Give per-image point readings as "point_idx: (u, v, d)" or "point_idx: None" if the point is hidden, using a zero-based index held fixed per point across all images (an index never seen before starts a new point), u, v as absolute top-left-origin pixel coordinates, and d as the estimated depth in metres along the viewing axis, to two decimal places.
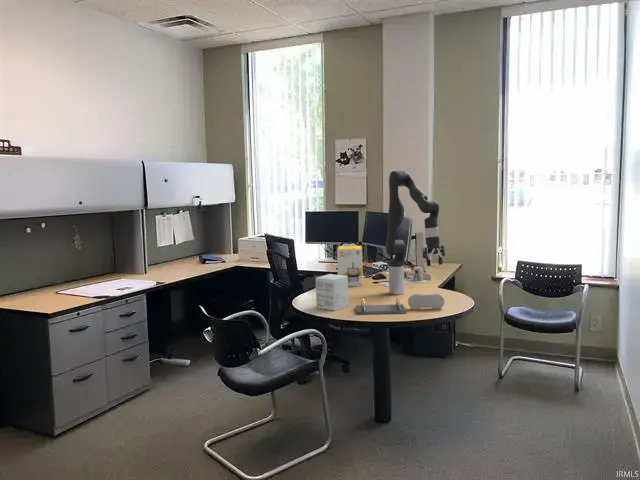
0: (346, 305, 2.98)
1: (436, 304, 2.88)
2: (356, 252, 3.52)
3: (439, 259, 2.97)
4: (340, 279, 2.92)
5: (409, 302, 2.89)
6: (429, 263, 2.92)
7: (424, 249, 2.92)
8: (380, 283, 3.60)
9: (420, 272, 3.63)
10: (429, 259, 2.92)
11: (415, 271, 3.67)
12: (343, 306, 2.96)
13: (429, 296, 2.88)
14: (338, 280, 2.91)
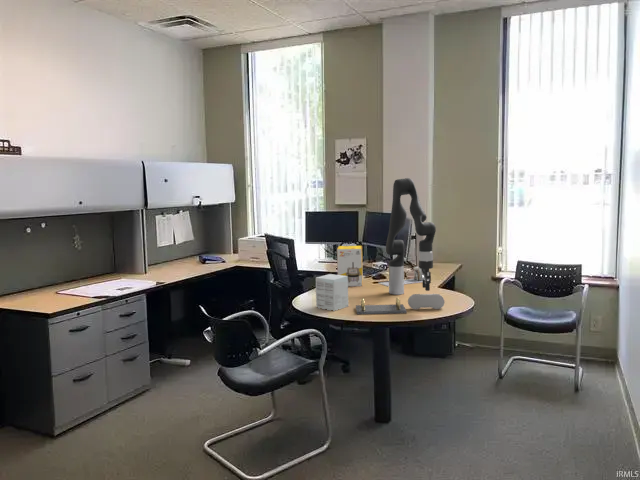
0: (346, 305, 2.98)
1: (436, 304, 2.88)
2: (356, 252, 3.52)
3: (424, 282, 2.92)
4: (340, 279, 2.92)
5: (409, 302, 2.89)
6: (429, 288, 2.84)
7: (429, 274, 2.81)
8: (380, 283, 3.60)
9: (420, 272, 3.64)
10: (429, 283, 2.84)
11: (415, 271, 3.67)
12: (343, 306, 2.96)
13: (429, 296, 2.88)
14: (338, 280, 2.91)
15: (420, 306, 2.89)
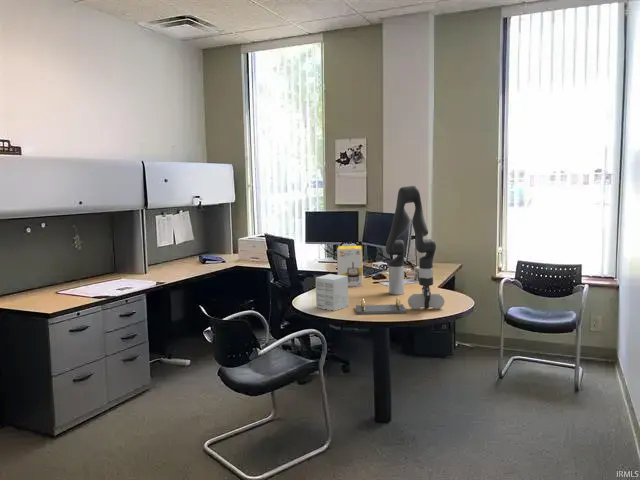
0: (346, 305, 2.98)
1: (436, 304, 2.88)
2: (356, 252, 3.52)
3: None
4: (340, 279, 2.92)
5: (409, 302, 2.89)
6: (428, 305, 2.88)
7: (429, 294, 2.83)
8: (381, 283, 3.60)
9: None
10: (428, 301, 2.88)
11: (416, 271, 3.67)
12: (343, 306, 2.96)
13: None
14: (338, 280, 2.91)
15: (420, 306, 2.89)
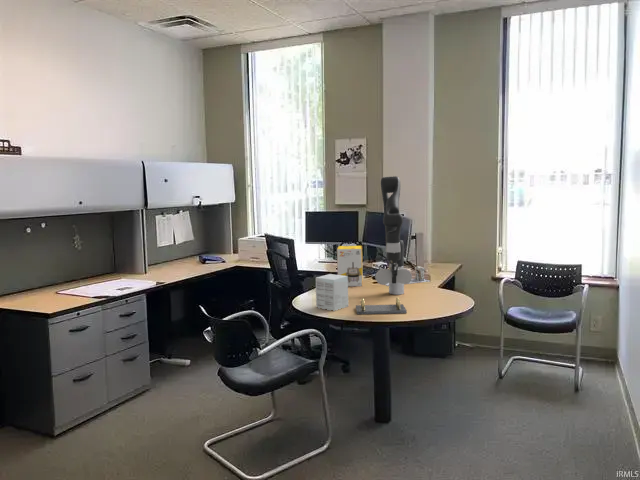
0: (346, 305, 2.98)
1: (403, 279, 2.86)
2: (356, 252, 3.52)
3: None
4: (340, 279, 2.92)
5: (376, 277, 2.85)
6: (395, 280, 2.85)
7: (396, 269, 2.80)
8: None
9: (422, 272, 3.64)
10: None
11: (417, 271, 3.67)
12: (343, 306, 2.96)
13: None
14: (338, 280, 2.91)
15: (388, 281, 2.86)
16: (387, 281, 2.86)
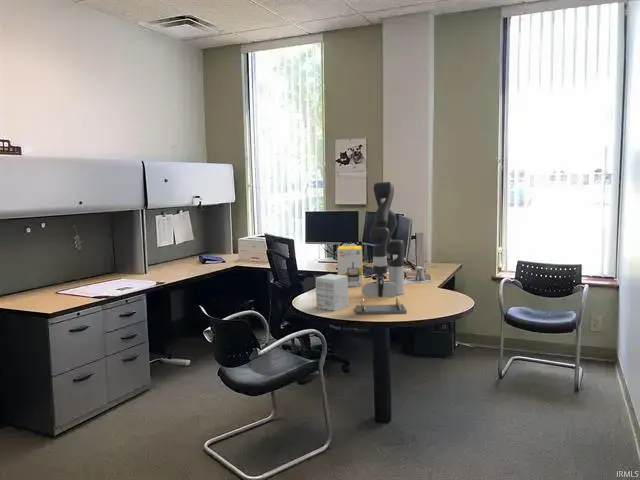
0: (346, 305, 2.98)
1: (390, 292, 2.86)
2: (356, 252, 3.52)
3: None
4: (340, 279, 2.92)
5: (363, 291, 2.86)
6: (382, 294, 2.86)
7: (382, 282, 2.80)
8: None
9: (422, 272, 3.64)
10: (382, 290, 2.85)
11: (417, 271, 3.68)
12: (343, 306, 2.96)
13: None
14: (338, 280, 2.91)
15: (374, 294, 2.86)
16: (373, 294, 2.86)
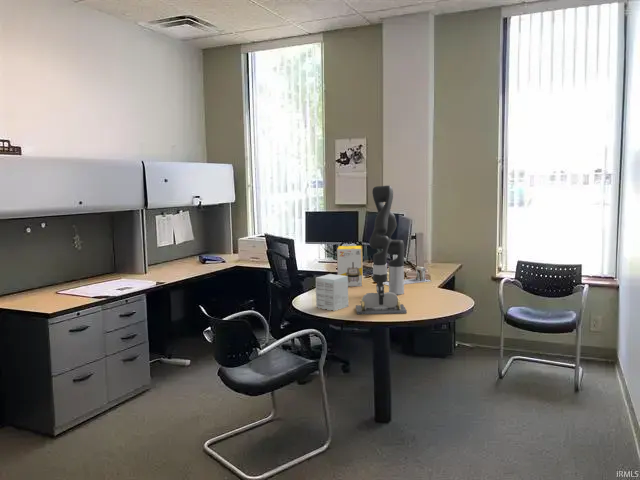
0: (346, 305, 2.98)
1: (390, 303, 2.87)
2: (356, 252, 3.52)
3: None
4: (340, 279, 2.92)
5: None
6: (382, 302, 2.84)
7: (382, 288, 2.80)
8: (383, 283, 3.61)
9: (422, 272, 3.64)
10: None
11: (417, 271, 3.68)
12: (343, 306, 2.96)
13: None
14: (338, 280, 2.91)
15: (374, 305, 2.87)
16: (374, 305, 2.87)
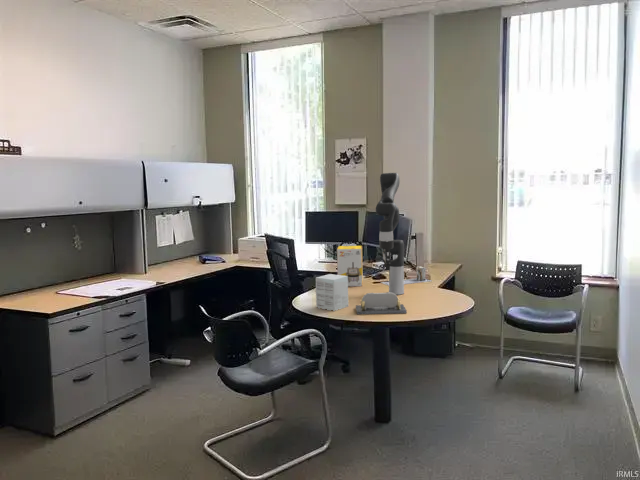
0: (346, 305, 2.98)
1: (390, 303, 2.87)
2: (356, 252, 3.52)
3: None
4: (340, 279, 2.92)
5: None
6: (389, 267, 2.87)
7: (388, 254, 2.84)
8: (383, 283, 3.61)
9: (423, 272, 3.65)
10: (389, 263, 2.87)
11: (418, 271, 3.68)
12: (343, 306, 2.96)
13: (383, 295, 2.86)
14: (338, 280, 2.91)
15: (374, 305, 2.87)
16: (374, 305, 2.87)
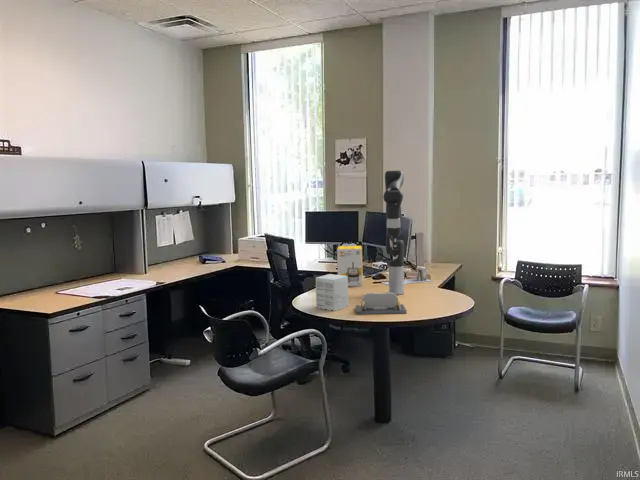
0: (346, 305, 2.98)
1: (390, 303, 2.87)
2: (356, 252, 3.52)
3: (392, 249, 3.00)
4: (340, 279, 2.92)
5: None
6: (396, 254, 2.92)
7: (396, 240, 2.89)
8: (383, 283, 3.61)
9: (423, 272, 3.65)
10: (396, 250, 2.92)
11: (418, 271, 3.68)
12: (343, 306, 2.96)
13: (383, 295, 2.86)
14: (338, 280, 2.91)
15: (374, 305, 2.87)
16: (374, 305, 2.87)
